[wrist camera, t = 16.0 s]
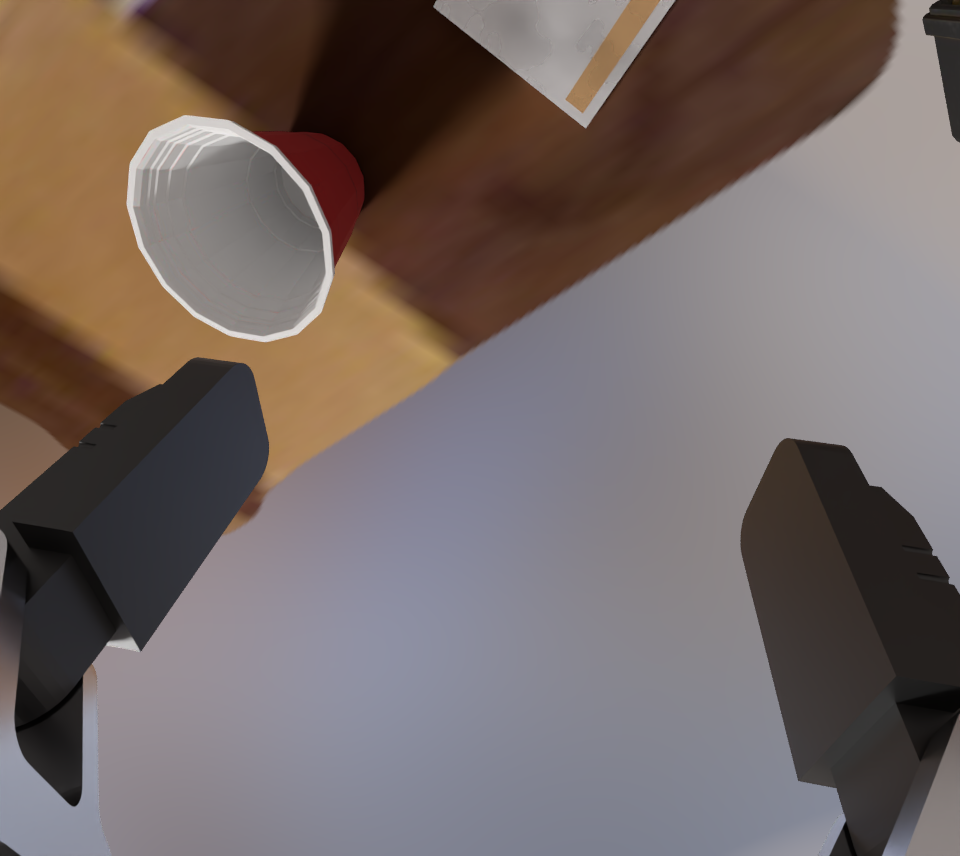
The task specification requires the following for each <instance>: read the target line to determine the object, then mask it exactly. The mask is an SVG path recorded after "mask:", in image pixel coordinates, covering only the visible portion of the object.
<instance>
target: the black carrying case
mask: <svg viewBox="0 0 960 856" xmlns="http://www.w3.org/2000/svg"><path fill="white" fill-rule="evenodd" d="M929 10H930V12H929V13H927V14H926V15H925V16H924V17H923V24H924V29H925V33H926V35H931V36H934V37H935V43H936V48H937V54H938V59H939V65H940V70H941V76H942V81H943V87H944V93H945V98H946V104H947V109H948V115H949V120H950V126H951V131H952V136H953V137H954V138H955V139H956V140H957V141H958V142H960V0H939V1H937V2H935V3H934V4H932V6H931V7H930V8H929Z"/></svg>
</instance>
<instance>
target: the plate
mask: <svg viewBox="0 0 960 856" xmlns="http://www.w3.org/2000/svg"><path fill="white" fill-rule="evenodd" d="M674 1H675V0H436V2H435V4H434V6H433V7H434V8H435V9H436V10H438V11H439V12H440V13H441V14H443V15H444V16H445V17H446V18H448V19H449V20H450V21H451V22H453V23H454V24H455V25H456V26H458V27H459V28H460V29H461V30H463V31H464V32H465V33H467V34H468V35H469V36H470V37H472V38H473V39H474V40H475V41H477V42H478V43H479V44H480V45H482V46H483V47H484V48H485V49H487V50H488V51H489V52H490V53H492V54H493V55H494V56H495V57H497V58H498V59H499V60H500V61H502V62H503V63H504V64H505V65H507V66H508V67H509V68H510V69H512V70H513V71H514V72H516V73H517V74H518V75H519V76H521V77H522V78H523V79H524V80H526V81H527V82H528V83H529V84H531V85H532V86H533V87H534V88H536V89H537V90H538V91H539V92H541V93H542V94H543V95H544V96H546V97H547V98H548V99H549V100H551V101H552V102H553V103H554V104H556V105H557V106H558V107H559V108H561V109H562V110H563V111H565V112H566V113H567V114H568V115H570V116H571V117H572V118H573V119H575V120H576V121H577V122H578V123H580V124H581V125H582V126H583V127H585V128H586V127H587V126H588V124H589V123H590V121H591V120H592V119H593V117H594V116H595V114H596V113H597V111H598V110H599V109H600V107H601V106H602V104H603V103H604V101H605V100H606V99H607V97H608V96H609V94H610V93H611V91H612V90H613V89H614V87H615V86H616V84H617V83H618V81H619V80H620V79H621V77H622V76H623V74H624V73H625V71H626V70H627V69H628V67H629V66H630V64H631V63H632V61H633V60H634V59H635V57H636V56H637V54H638V53H639V51H640V50H641V49H642V47H643V46H644V44H645V43H646V41H647V40H648V38H649V37H650V36H651V34H652V33H653V31H654V30H655V28H656V27H657V26H658V24H659V23H660V21H661V20H662V18H663V17H664V16H665V14H666V13H667V11H668V10H669V8H670V7H671V6H672V4H673V3H674Z"/></svg>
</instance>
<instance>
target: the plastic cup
mask: <svg viewBox="0 0 960 856" xmlns="http://www.w3.org/2000/svg"><path fill="white" fill-rule="evenodd" d="M364 196H365V192H364V177H363V175H362V172H361V170H360V167H359V165H358V163H357V160H356V159H355V157H354V156H353V155H352V154H351V153H350V152H349V151H348V150H347V148H346V147H345V146H344V145H343V144H342V143H340V142H338V141H336V140H334V139H332V138H331V137H329V136H327V135H324V134H321V133H311V132H285V131H255V132H251V131H249V130H247V129H245V128H244V127H242V126H240V125H239V124H237V123H235V122H233V121H230V120H223V119H214V118H205V117H196V116H188V115H184V116H182V117H179V118H177V119H175V120H173V121H171V122H168V123H166V124H164V125H162V126H160V127H157V128H155V129H153V130H151V131H149V133H148V135H147V136H146V138H145V139H144V141H143V143H142V144H141V146H140V147H139V149H138V151H137V152H136V154H135V156H134V157H133V159H132V160H131V162H130V167H129V180H128V193H127V207H128V211H129V215H130V218H131V222H132V225H133V229H134V233H135V236H136V240H137V243H138V247H139V249H140V250H141V252H142V254H143V255H144V257H145V259H146V260H147V262H148V263H149V265H150V267H151V268H152V270H153V272H154V273H155V275H156V277H157V278H158V280H159V281H160V283H161V285H162V286H163V287H164V288H165V289H166V290H167V291H168V292H169V293H170V294H171V295H172V296H173V297H174V298H175V299H176V300H177V301H178V302H179V303H180V304H181V305H182V306H184V307H185V308H186V309H187V310H188V311H189V312H190V313H191V314H192V315H193V316H194V317H196V318H197V319H199V320H201V321H203V322H205V323H207V324H209V325H210V326H212V327H214V328H216V329H218V330H220V331H221V332H223V333H225V334H227V335H229V336H232V337H238V338H244V339H250V340H255V341H261V342H269V341H273V340H277V339H281V338H285V337H289V336H293V335H297V334H298V333H299V332H301V331H302V330H303V329H304V328H305V327H306V326H307V325H308V324H309V323H310V322H311V321H312V320H313V319H315V318H316V317H317V316H318V315H319V314H320V313H321V312H322V309H323V307H324V304H325V301H326V298H327V295H328V292H329V289H330V286H331V283H332V280H333V277H334V274H335V269H334V268H335V266H336V264H337V262H338V260H339V258H340V256H341V254H342V252H343V250H344V248H345V246H346V244H347V242H348V240H349V238H350V236H351V234H352V231H353V228H354V225H355V222H356V220H357V218H358V216H359V214H360V211H361V208H362V205H363V202H364Z"/></svg>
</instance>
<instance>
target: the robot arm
mask: <svg viewBox="0 0 960 856" xmlns="http://www.w3.org/2000/svg"><path fill="white" fill-rule="evenodd" d="M100 424H101V426H100V428H94V429H93V430H92V431H91V432H90V433H89V434H87V435H86V436H85V437H84V438H83V439H82V440H81V441H79V446H78V447H72V448H71V449H70V450H69V451H68V452H67V453H66V454H64V455H63V456H62V457H61V458H60V459H59V460H58V461H57V462H55V463H54V464H53V465H52V466H51V467H50V468H48V469H47V470H46V471H45V472H44V473H43V474H42V475H40V476H39V477H38V478H37V479H36V480H35V481H33V482H32V483H31V484H30V485H29V486H28V487H27V488H26V489H24V490H23V491H22V492H21V493H20V494H19V495H18V496H16V497H15V498H14V499H13V500H12V501H11V502H9V503H8V504H7V505H6V506H5V507H4V508H3V509H1V510H0V856H112V855H111V851H110V848H109V845H108V843H107V840H106V838H105V835H104V832H103V829H102V825H101V820H100V814H99V787H98V717H97V716H98V710H97V675H96V671H95V669H94V666H93V665H92V663H93V661H94V660H95V659H96V657H97V656H98V654H99V653H100V652H101V651H102V649H103V648H104V647H105V645H107V646H113V647H117V648H123V649H128V650H133V651H138V652H141V651H142V649H143V648H144V646H145V645H146V643H147V642H148V641H149V639H150V638H151V636H152V635H153V633H154V632H155V630H156V629H157V627H158V626H159V625H160V623H161V622H162V620H163V619H164V617H165V616H166V615H167V613H168V612H169V610H170V609H171V607H172V606H173V604H174V603H175V602H176V600H177V599H178V597H179V596H180V594H181V593H182V591H183V590H184V588H185V587H186V586H187V584H188V583H189V581H190V580H191V578H192V577H193V575H194V574H195V572H196V571H197V570H198V568H199V567H200V565H201V564H202V563H203V561H204V559H205V558H206V557H207V555H208V554H209V552H210V551H211V550H212V548H213V547H214V545H215V544H216V542H217V541H218V539H219V538H220V537H221V535H222V534H223V532H224V531H225V529H226V528H227V526H228V525H229V524H230V522H231V521H232V519H233V518H234V516H235V515H236V513H237V512H238V511H239V509H240V508H241V506H242V505H243V503H244V502H245V500H246V499H247V498H248V496H249V495H250V493H251V492H252V490H253V489H254V487H255V486H256V485H257V483H258V482H259V480H260V479H261V477H262V475H263V473H264V471H265V468H266V465H267V461H268V455H269V441H268V436H267V432H266V427H265V423H264V418H263V414H262V410H261V405H260V401H259V396H258V392H257V388H256V383H255V379H254V375H253V373H252V371H251V369H250V368H249V367H248V366H247V365H246V364H243V363H236V362H229V361H221V360H214V359H206V358H199V357H198V358H193V359H191V360H190V361H188V362H187V363H186V364H185V365H184V366H183V367H182V368H181V369H179V370H178V371H177V372H176V373H175V374H174V375H173V376H172V377H171V378H169V379H168V380H167V381H166V382H165V383H164V384H163V385H162V384H159V385H157V386H155V387H153V388H151V389H149V390H147V391H145V392H143V393H141V394H139V395H137V396H135V397H133V398H131V399H129V400H127V401H125V402H124V403H123V404H122V405H121V406H120V407H118V408H117V409H116V410H115V411H114V412H113V413H112V414H110V415H109V416H108V417H107V418H106V419H105V420H104V421H102V422H101V423H100ZM932 551H933V549H932V547H931V546H930V544H929V542H928V540H927V539H926V537H925V535H924V534H923V532H922V530H921V529H920V527H919V525H918V524H917V522H916V520H915V518H914V517H913V516H912V515H911V514H910V513H909V512H908V511H907V510H906V509H904V508H903V507H902V506H901V505H900V504H899V503H898V502H897V501H895V499H893V498H892V497H891V496H890V495H889V494H888V493H887V492H886V491H885V490H884V489H883V488H882V487H876V486H869V484H868V482H867V480H866V479H865V477H864V475H863V473H862V471H861V469H860V467H859V466H858V464H857V462H856V460H855V458H854V456H853V454H852V453H851V451H850V450H849V449H848V448H847V447H845V446H842V445H835V444H827V443H820V442H812V441H805V440H797V439H790V438H786V439H784V440H783V441H781V442H780V443H779V445H778V446H777V448H776V450H775V451H774V454H773V455H772V458H771V460H770V462H769V464H768V466H767V468H766V470H765V472H764V475H763V477H762V479H761V481H760V483H759V485H758V487H757V489H756V491H755V494H754V496H753V498H752V500H751V502H750V504H749V507H748V509H747V511H746V513H745V516H744V519H743V523H742V529H741V552H742V557H743V561H744V566H745V570H746V573H747V577H748V581H749V586H750V590H751V593H752V598H753V602H754V605H755V609H756V613H757V617H758V622H759V625H760V629H761V633H762V638H763V641H764V646H765V650H766V653H767V657H768V662H769V665H770V670H771V674H772V678H773V682H774V686H775V690H776V694H777V697H778V701H779V705H780V710H781V714H782V717H783V722H784V725H785V730H786V734H787V737H788V742H789V745H790V749H791V753H792V757H793V761H794V765H795V769H796V774H797V778H798V781H802V782H807V783H812V784H817V785H823V786H828V787H833V788H837V792H838V795H839V798H840V802H841V805H842V808H843V812H844V813H842V814H841V815H840V816H839V817H838V818H837V819H836V821H835V822H834V824H833V825H832V828H831V830H830V832H829V834H828V836H827V838H826V840H825V842H824V844H823V846H822V848H821V850H820V852H819V854H818V856H960V594H959V593H958V591H957V589H956V588H955V586H954V585H951V584H949V582H948V580H949V578H950V577H949V576H948V574H947V572H946V571H945V569H944V567H943V566H942V564H941V563H940V561H939V559H938V557H937V556H933V555H932Z"/></svg>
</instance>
